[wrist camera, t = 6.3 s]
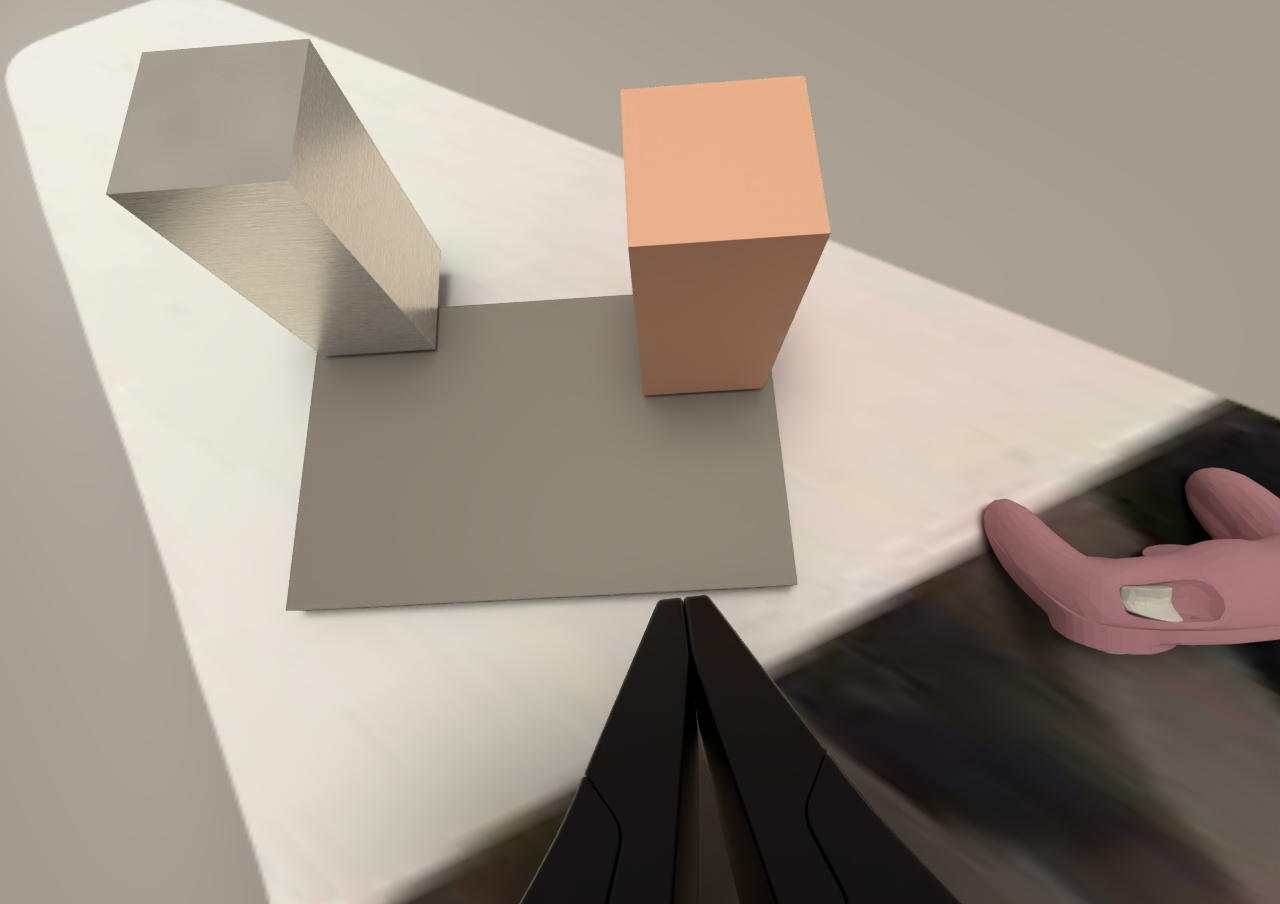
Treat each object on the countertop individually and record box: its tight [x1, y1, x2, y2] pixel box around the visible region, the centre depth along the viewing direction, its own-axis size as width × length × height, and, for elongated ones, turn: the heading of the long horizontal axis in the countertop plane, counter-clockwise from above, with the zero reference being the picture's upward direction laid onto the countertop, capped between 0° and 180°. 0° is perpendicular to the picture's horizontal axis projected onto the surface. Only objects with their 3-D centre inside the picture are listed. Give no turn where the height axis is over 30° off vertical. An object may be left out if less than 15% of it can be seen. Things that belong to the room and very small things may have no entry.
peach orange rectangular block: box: [621, 76, 831, 396], centre depth 19 cm, size 5×5×10 cm
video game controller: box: [984, 468, 1280, 654], centre depth 20 cm, size 10×5×7 cm, turn 98°
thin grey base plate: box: [286, 295, 797, 611], centre depth 24 cm, size 13×20×1 cm, turn 93°
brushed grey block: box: [106, 39, 441, 356], centre depth 21 cm, size 5×5×10 cm
